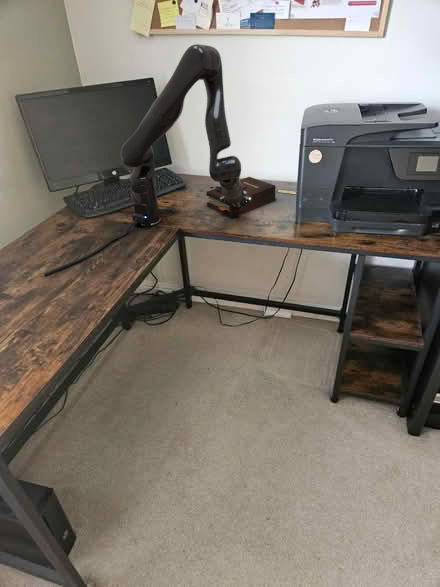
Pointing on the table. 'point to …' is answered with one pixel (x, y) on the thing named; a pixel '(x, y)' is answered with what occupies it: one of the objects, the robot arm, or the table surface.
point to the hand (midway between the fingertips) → (238, 207)
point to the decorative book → (251, 187)
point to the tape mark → (287, 192)
